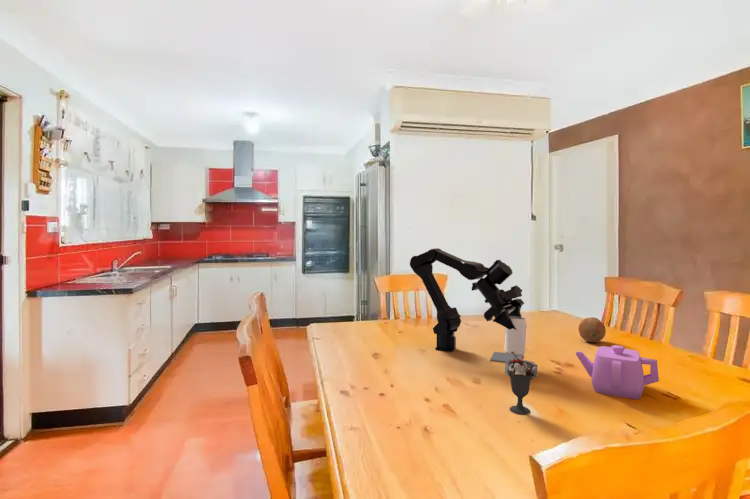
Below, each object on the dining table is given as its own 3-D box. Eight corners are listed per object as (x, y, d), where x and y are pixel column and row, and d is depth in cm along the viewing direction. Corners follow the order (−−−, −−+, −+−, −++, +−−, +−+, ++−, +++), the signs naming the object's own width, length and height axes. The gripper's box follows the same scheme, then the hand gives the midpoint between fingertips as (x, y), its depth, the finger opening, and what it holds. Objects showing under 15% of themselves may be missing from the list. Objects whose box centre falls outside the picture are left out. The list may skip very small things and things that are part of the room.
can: (527, 356, 134) (529, 319, 134) (506, 354, 135) (508, 317, 135) (521, 351, 141) (523, 316, 141) (502, 350, 141) (504, 315, 142)
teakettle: (616, 403, 109) (617, 357, 109) (571, 380, 126) (572, 340, 125) (667, 396, 114) (669, 352, 113) (617, 375, 130) (618, 336, 129)
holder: (503, 376, 129) (503, 366, 129) (507, 366, 138) (507, 357, 138) (536, 380, 126) (536, 371, 125) (537, 370, 134) (538, 361, 134)
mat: (490, 360, 145) (490, 359, 145) (494, 352, 154) (494, 351, 154) (520, 364, 140) (520, 363, 140) (522, 355, 150) (522, 354, 150)
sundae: (501, 405, 109) (502, 349, 108) (526, 404, 109) (527, 348, 108) (512, 416, 102) (513, 357, 101) (538, 415, 103) (539, 356, 102)
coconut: (598, 338, 172) (599, 315, 171) (610, 345, 162) (610, 320, 161) (574, 338, 172) (574, 314, 172) (584, 345, 163) (584, 320, 162)
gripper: (493, 281, 133) (525, 320, 126) (519, 275, 146) (549, 311, 139) (471, 301, 139) (500, 340, 132) (498, 294, 152) (526, 330, 146)
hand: (520, 329), depth 137 cm, fingers closed on can, 6 cm apart
